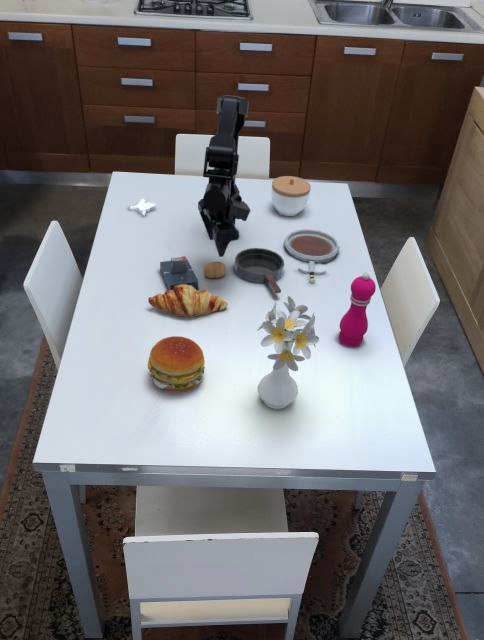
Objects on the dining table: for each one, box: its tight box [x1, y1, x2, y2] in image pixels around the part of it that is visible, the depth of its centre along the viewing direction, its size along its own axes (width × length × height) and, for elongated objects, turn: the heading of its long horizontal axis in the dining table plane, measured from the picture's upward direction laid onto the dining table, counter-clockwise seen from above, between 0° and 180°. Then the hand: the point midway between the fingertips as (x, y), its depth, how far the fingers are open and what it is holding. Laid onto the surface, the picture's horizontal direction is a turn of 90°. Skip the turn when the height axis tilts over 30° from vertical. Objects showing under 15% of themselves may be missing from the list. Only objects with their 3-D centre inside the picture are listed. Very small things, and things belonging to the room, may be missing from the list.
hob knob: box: [170, 255, 188, 274], centre depth 178 cm, size 4×2×4 cm, turn 107°
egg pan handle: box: [265, 274, 282, 294], centre depth 178 cm, size 8×2×1 cm, turn 18°
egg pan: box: [233, 247, 285, 284], centre depth 186 cm, size 14×14×4 cm
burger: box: [147, 335, 206, 393], centre depth 150 cm, size 14×14×10 cm
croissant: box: [147, 284, 229, 318], centre depth 171 cm, size 21×10×8 cm, turn 95°
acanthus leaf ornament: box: [129, 198, 157, 217], centre depth 208 cm, size 8×7×2 cm
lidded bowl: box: [271, 175, 312, 217], centre depth 210 cm, size 13×13×11 cm
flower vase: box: [256, 295, 320, 410], centre depth 141 cm, size 13×18×25 cm
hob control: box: [159, 259, 199, 291], centre depth 180 cm, size 12×8×3 cm
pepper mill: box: [338, 272, 377, 348], centre depth 161 cm, size 7×7×20 cm
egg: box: [203, 261, 227, 279], centre depth 183 cm, size 4×6×4 cm
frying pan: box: [283, 228, 340, 285], centre depth 193 cm, size 17×3×28 cm
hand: (216, 247), depth 178 cm, fingers open, 9 cm apart
